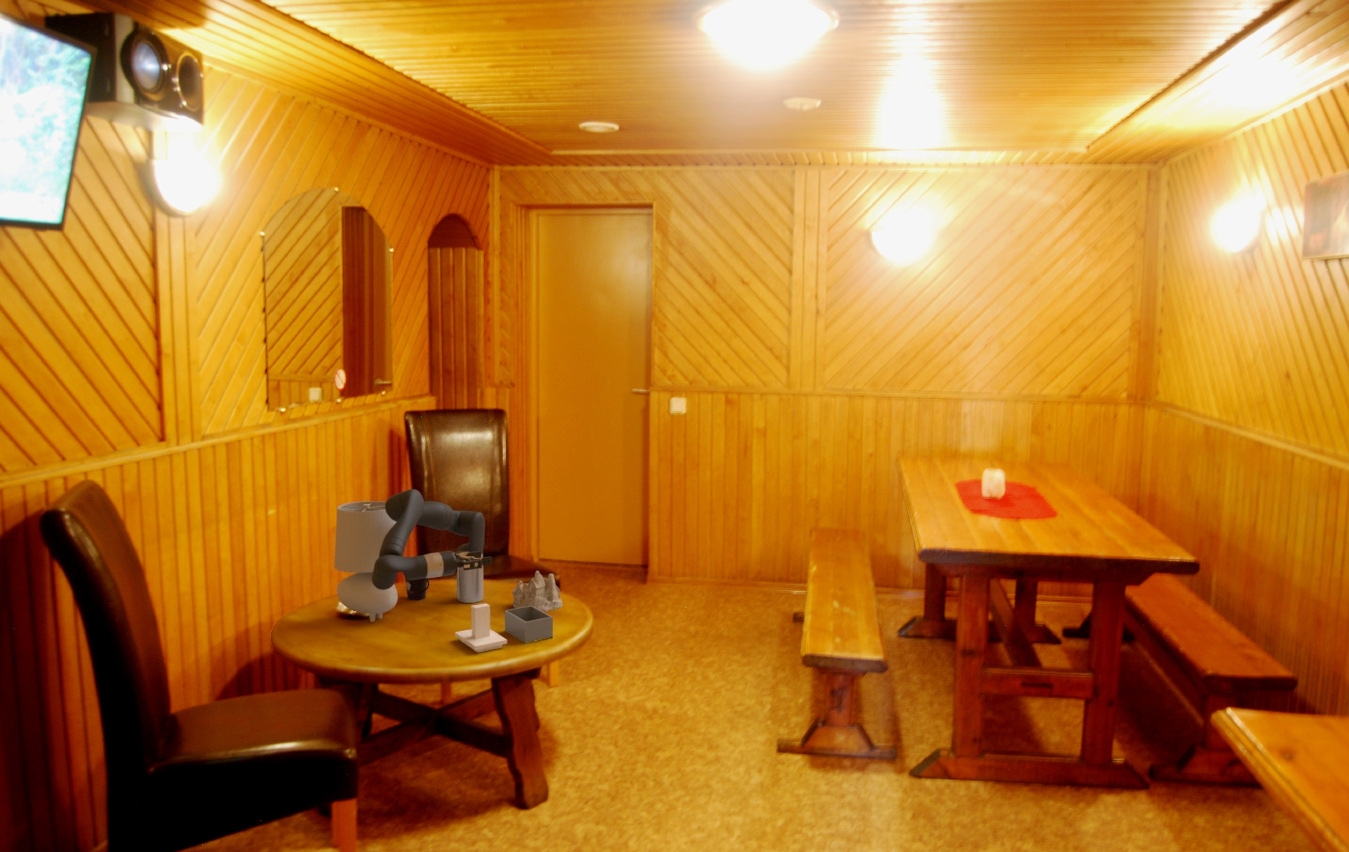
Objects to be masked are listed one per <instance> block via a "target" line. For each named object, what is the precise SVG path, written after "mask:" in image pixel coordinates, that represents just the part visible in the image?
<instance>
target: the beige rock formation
mask: <svg viewBox="0 0 1349 852" xmlns="http://www.w3.org/2000/svg"><path fill="white" fill-rule="evenodd" d="M560 592H561V589H560V588H559V586H557V585H556V581H555V575H554V573H549V574H548V578H546V577H543V575H542V574H541V573H540V571H539V570H536V571H535V573H534V577H532V578H530V580H529V582H528V583H524V584H523V581H521V580H519V581H518V583H517V585H515V587H514V588H513V589H512V591H511V594H512V596H513V601H512V605H513V606H512V607H513V609H516V608H521V607H527V606H533V607H535V608H537V609H539V610H541V611H543V612H544V613H547V612H550V611H549V610H551V611H555V610H557V609H560V608H563V607H562V606H563V601H562V598H561V597H560V596H561V594H560ZM554 609H555V610H554Z"/></svg>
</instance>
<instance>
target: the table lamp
mask: <svg viewBox="0 0 1349 852" xmlns="http://www.w3.org/2000/svg"><path fill="white" fill-rule="evenodd" d="M385 504H386V501H381V500H380V501H377V500H375V501H373V500H371V501H367V500H366V501H357V502H356V501H355V502H354V501H352V502H348V503H343V504H341V505H338V506H337V508H336V524H335V525H336V526H335V542H334V543H335V547H334V563H333V565H334V566H333V567H334V569H335V570H336V571H339V572H344V573H353V574H351V575H349V576H347V577H345V578H343V579H342V580H341V581H340V582H339V583H338V584H337V587H336V594H337V597H338V600H339V601H340V603H341V604H342V605H343V606H344V607H346V608H347V609H348V610H349V609H350V610H353V611H356V613H361V614H368V616H369V621H370V623H373V622H375V621H376V618H377V619H378V620H379V619H383V614H384V613H386V612H389V611H390V610H392V609H393V608H394V607H395V606H396V605H397V602H398V596H399V595H398V590H397V588H396V586H395V584H394V585H393V586H392V587H391V588H389V589H386V590H380V589H377V588H376V587H375V586H374V585H373V583H372V573H373V569H374V564H375V562H376V560H377V559H378V558H379V553H380V549H381V546H382V543H383V540H384V538H385V536H386V534H387V533H388V531H389V530H390V529H391V528H392V527H393V526H394V524H395V523H396V521H394V520H392V519H391V518H390V517H389V516H388V515H387V513H386V510H385ZM350 610H349V611H350Z"/></svg>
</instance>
